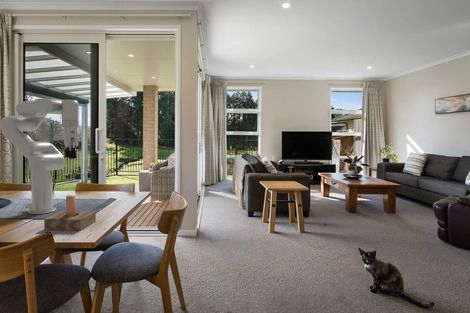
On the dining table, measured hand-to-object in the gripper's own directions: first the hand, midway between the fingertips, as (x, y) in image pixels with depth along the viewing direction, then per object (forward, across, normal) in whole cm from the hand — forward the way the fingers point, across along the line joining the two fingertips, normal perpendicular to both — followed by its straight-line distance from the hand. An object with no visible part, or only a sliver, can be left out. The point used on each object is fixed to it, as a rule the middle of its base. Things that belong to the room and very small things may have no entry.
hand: (70, 157), depth 149 cm
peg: (+30, -18, +3) cm, 35 cm away
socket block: (+30, -18, +3) cm, 35 cm away
